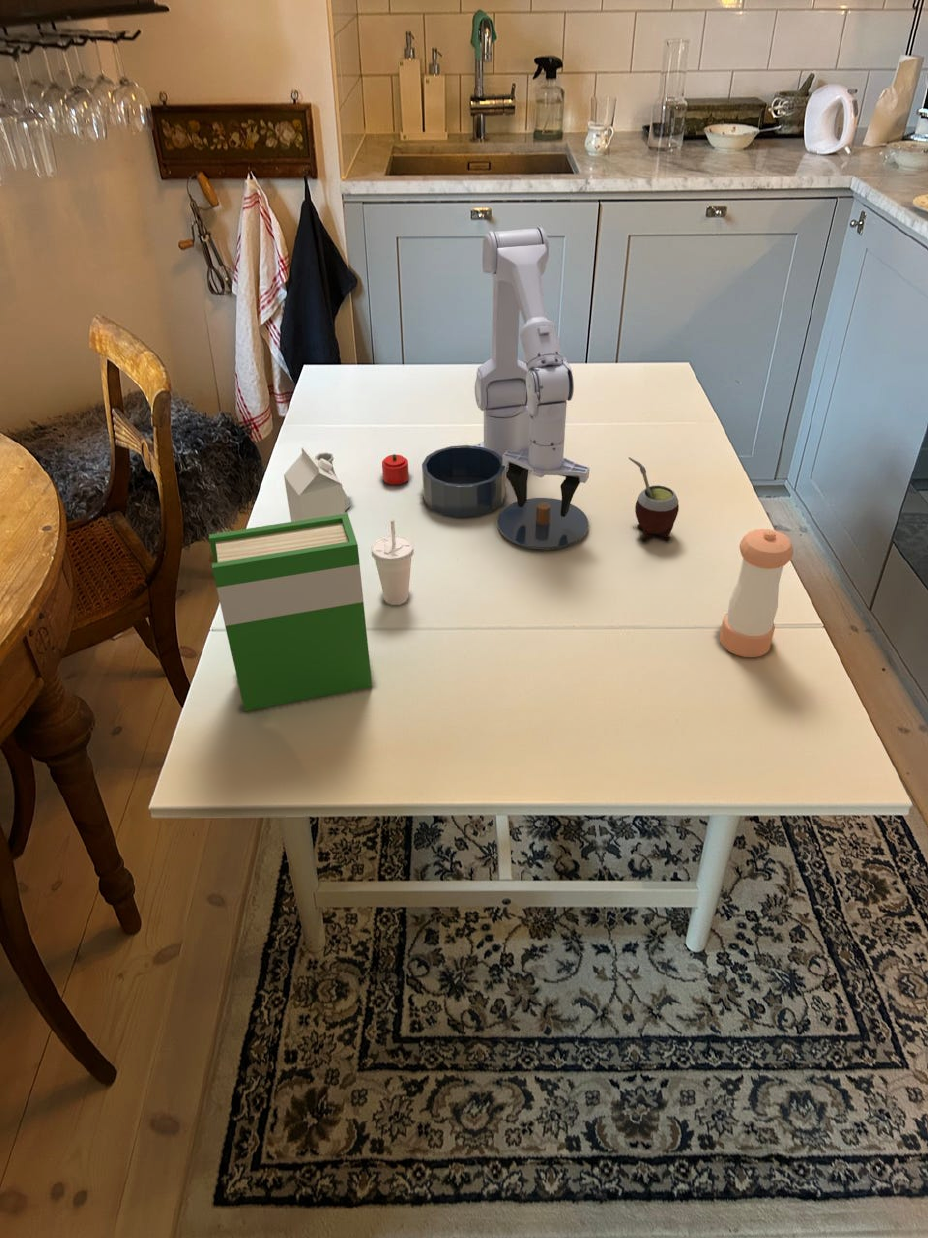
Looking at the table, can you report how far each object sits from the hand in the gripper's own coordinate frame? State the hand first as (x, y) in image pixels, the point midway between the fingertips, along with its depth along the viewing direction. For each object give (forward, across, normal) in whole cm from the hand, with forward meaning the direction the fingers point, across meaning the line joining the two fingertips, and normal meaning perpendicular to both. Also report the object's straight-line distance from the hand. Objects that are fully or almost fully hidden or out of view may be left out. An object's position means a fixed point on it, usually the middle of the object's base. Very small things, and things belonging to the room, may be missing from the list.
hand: (543, 508), depth 160 cm
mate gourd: (+4, +18, +5) cm, 19 cm away
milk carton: (+4, -30, -23) cm, 38 cm away
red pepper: (+4, -31, +4) cm, 31 cm away
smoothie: (+4, -14, -28) cm, 32 cm away
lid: (+3, 0, 0) cm, 3 cm away
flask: (+4, -37, -9) cm, 38 cm away
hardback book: (+4, -17, -50) cm, 53 cm away
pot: (+4, -17, +4) cm, 17 cm away
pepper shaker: (+3, +38, -17) cm, 42 cm away
